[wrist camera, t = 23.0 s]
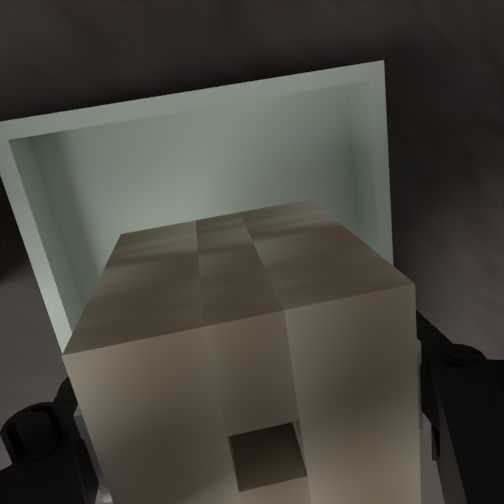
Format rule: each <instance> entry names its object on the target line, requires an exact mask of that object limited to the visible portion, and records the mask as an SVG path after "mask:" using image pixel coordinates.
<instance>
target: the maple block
mask: <svg viewBox="0 0 504 504" xmlns="http://www.w3.org/2000/svg"><path fill="white" fill-rule="evenodd" d="M62 359H63V361H64V364H65V367H66V370H67V373H68V376H69V378H70V381H71V384H72V387H73V390H74V393H75V396H76V398H77V401H78V404H79V407H80V410H81V413H82V415H83V418H84V421H85V424H86V427H87V430H88V432H89V435H90V438H91V441H92V444H93V447H94V450H95V452H96V455H97V458H98V461H99V464H100V467H101V469H102V472H103V475H104V478H105V481H106V484H107V487H108V489H109V492H110V495H111V498H112V501H113V504H421V483H420V445H419V408H418V370H417V333H416V295H415V283H414V282H412V281H411V280H410V279H409V278H407V277H406V276H405V275H404V274H402V273H401V272H400V271H399V270H398V269H396V268H395V267H394V266H393V265H391V264H390V263H389V262H388V261H387V260H385V259H384V258H383V257H382V256H380V255H379V254H378V253H377V252H375V251H374V250H373V249H372V248H371V247H369V246H368V245H367V244H366V243H364V242H363V241H362V240H361V239H359V238H358V237H357V236H356V235H355V234H353V233H352V232H351V231H350V230H348V229H347V228H346V227H345V226H344V225H342V224H341V223H340V222H339V221H337V220H336V219H335V218H334V217H332V216H331V215H330V214H329V213H328V212H326V211H325V210H324V209H323V208H321V207H320V206H319V205H318V204H316V203H315V202H314V201H313V200H312V199H308V200H303V201H297V202H292V203H286V204H281V205H276V206H270V207H265V208H259V209H254V210H248V211H243V212H238V213H232V214H227V215H221V216H216V217H210V218H205V219H200V220H194V221H189V222H183V223H178V224H172V225H167V226H162V227H156V228H151V229H145V230H140V231H134V232H129V233H124V234H121V235H120V237H119V239H118V241H117V243H116V245H115V247H114V249H113V251H112V253H111V255H110V257H109V259H108V262H107V264H106V266H105V268H104V270H103V272H102V274H101V276H100V278H99V280H98V282H97V284H96V286H95V288H94V290H93V292H92V294H91V296H90V298H89V300H88V303H87V305H86V307H85V309H84V311H83V313H82V315H81V317H80V319H79V321H78V323H77V325H76V327H75V329H74V331H73V333H72V335H71V337H70V339H69V341H68V344H67V346H66V348H65V350H64V352H63V354H62Z"/></svg>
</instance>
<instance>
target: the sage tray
mask: <svg viewBox="0 0 504 504" xmlns="http://www.w3.org/2000/svg"><path fill="white" fill-rule="evenodd" d="M0 176H1V178H2V181H3V184H4V187H5V190H6V193H7V196H8V199H9V201H10V204H11V207H12V210H13V213H14V216H15V219H16V222H17V224H18V227H19V230H20V233H21V236H22V239H23V242H24V245H25V248H26V250H27V253H28V256H29V259H30V262H31V265H32V268H33V271H34V273H35V276H36V279H37V282H38V285H39V288H40V291H41V294H42V296H43V299H44V302H45V305H46V308H47V311H48V314H49V317H50V319H51V322H52V325H53V328H54V331H55V334H56V337H57V340H58V342H59V345H60V348H61V351H62V354H63V352H64V350H65V348H66V346H67V344H68V341H69V339H70V337H71V335H72V333H73V331H74V329H75V327H76V325H77V323H78V321H79V319H80V317H81V315H82V313H83V311H84V309H85V307H86V305H87V303H88V300H89V298H90V296H91V294H92V292H93V290H94V288H95V286H96V284H97V282H98V280H99V278H100V276H101V274H102V272H103V270H104V268H105V266H106V264H107V262H108V259H109V257H110V255H111V253H112V251H113V249H114V247H115V245H116V243H117V241H118V239H119V237H120V235H121V234H124V233H129V232H134V231H140V230H145V229H151V228H156V227H162V226H167V225H172V224H178V223H183V222H189V221H194V220H200V219H205V218H210V217H216V216H221V215H227V214H232V213H238V212H243V211H248V210H254V209H259V208H265V207H270V206H276V205H281V204H286V203H292V202H297V201H303V200H308V199H312V200H313V201H314V202H315V203H316V204H318V205H319V206H320V207H321V208H323V209H324V210H325V211H326V212H328V213H329V214H330V215H331V216H332V217H334V218H335V219H336V220H337V221H339V222H340V223H341V224H342V225H344V226H345V227H346V228H347V229H348V230H350V231H351V232H352V233H353V234H355V235H356V236H357V237H358V238H359V239H361V240H362V241H363V242H364V243H366V244H367V245H368V246H369V247H371V248H372V249H373V250H374V251H375V252H377V253H378V254H379V255H380V256H382V257H383V258H384V259H385V260H387V261H388V262H389V263H390V264H391V265H393V246H392V224H391V202H390V181H389V159H388V137H387V115H386V93H385V71H384V60H382V61H376V62H369V63H363V64H357V65H351V66H344V67H338V68H332V69H326V70H319V71H313V72H307V73H301V74H294V75H288V76H282V77H276V78H269V79H263V80H257V81H251V82H245V83H238V84H232V85H226V86H220V87H213V88H207V89H201V90H195V91H188V92H182V93H176V94H170V95H163V96H157V97H151V98H145V99H139V100H132V101H126V102H120V103H114V104H107V105H101V106H95V107H89V108H82V109H76V110H70V111H64V112H57V113H51V114H45V115H39V116H32V117H26V118H20V119H14V120H8V121H1V122H0Z"/></svg>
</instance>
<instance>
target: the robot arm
mask: <svg viewBox="0 0 504 504" xmlns="http://www.w3.org/2000/svg"><path fill="white" fill-rule="evenodd" d="M416 333H417V370H418V408H419V431H420V430H423V413H424V414H425V415H426V417H427V418H428V419H429V421H430V422H431V432H432V460H436V462H437V467H438V472H439V477H440V481H441V486H442V491H443V496H444V501H445V504H504V360H489V359H486V357H485V356H484V355H483V353H482V352H480V351H479V350H477V349H475V348H473V347H470V346H467V345H463V344H453V343H452V342H451V341H450V340H449V339H448V338H446V337H445V336H444V335H443V334H442V333H441V332H440V331H439V330H438V329H437V328H436V327H434V326H433V325H431V323H430V322H429V321H428V320H427V319H426V318H424V316H422V315H421V314H420V313H419V312H418V311H417V310H416ZM0 435H1V438H2V440H3V442H4V445H5V447H6V449H7V452H8V454H9V456H10V459H11V461H12V465H10V466H8V467H6V468H5V469H3V470H1V471H0V504H95V500H96V496H97V491H98V487H99V490H100V492H101V495H102V498H103V501H104V503H106V502H111V501H112V498H111V495H110V492H109V489H108V487H107V484H106V481H105V478H104V475H103V472H102V469H101V467H100V464H99V461H98V458H97V455H96V452H95V450H94V447H93V444H92V441H91V438H90V435H89V432H88V430H87V427H86V424H85V421H84V418H83V415H82V413H81V410H80V407H79V404H78V401H77V398H76V396H75V393H74V390H73V387H72V384H71V381H70V378H69V376H68V377H67V378H66V379H65V380H64V381H63V382H62V384H61V386H60V388H59V390H58V393H57V397H55V399H54V401H53V403H52V402H42V403H38V404H34V405H31V406H29V407H27V408H25V409H23V410H21V411H19V412H17V413H16V414H15V415H13V416H12V417H10V418H9V419H8V420H7V422H6V423H5V424H4V425H3V426H2V429H1V432H0Z"/></svg>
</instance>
